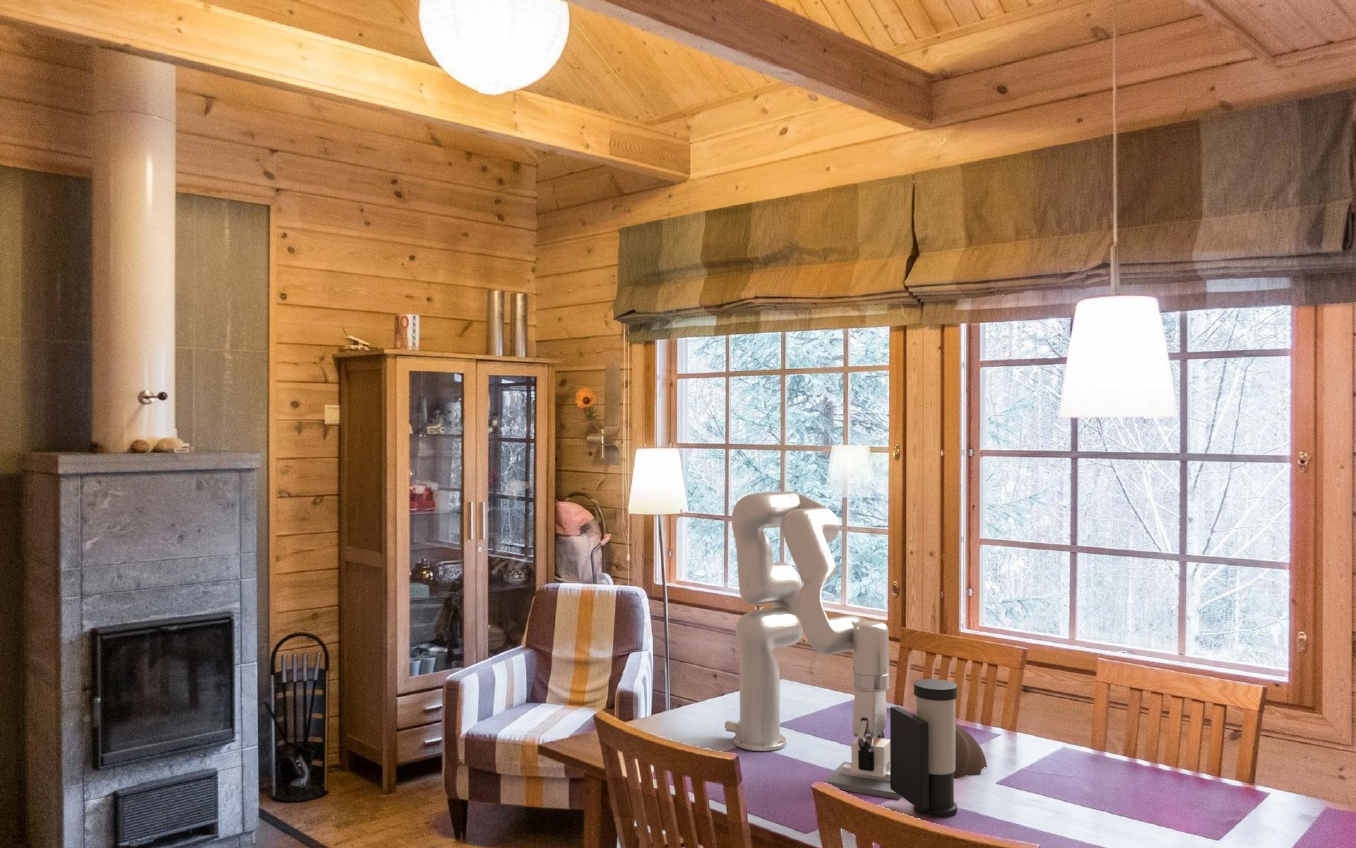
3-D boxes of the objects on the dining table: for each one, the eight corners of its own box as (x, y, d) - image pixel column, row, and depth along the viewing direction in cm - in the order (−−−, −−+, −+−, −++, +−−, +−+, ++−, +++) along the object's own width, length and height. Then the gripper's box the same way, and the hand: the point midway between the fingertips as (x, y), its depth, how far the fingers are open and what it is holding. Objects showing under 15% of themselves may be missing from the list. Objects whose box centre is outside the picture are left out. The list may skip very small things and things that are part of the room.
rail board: (823, 786, 212) (824, 773, 212) (844, 767, 224) (844, 754, 224) (899, 799, 205) (899, 786, 205) (916, 778, 217) (916, 765, 217)
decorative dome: (988, 783, 215) (988, 736, 215) (893, 774, 221) (893, 728, 221) (986, 755, 234) (986, 711, 234) (898, 747, 239) (898, 705, 239)
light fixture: (971, 818, 195) (971, 690, 195) (920, 824, 192) (920, 694, 192) (938, 797, 206) (938, 675, 206) (889, 802, 203) (889, 679, 203)
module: (850, 772, 213) (850, 742, 213) (860, 762, 219) (860, 733, 219) (883, 777, 210) (883, 747, 210) (892, 767, 216) (892, 738, 216)
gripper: (865, 670, 224) (865, 751, 224) (841, 688, 209) (842, 774, 208) (898, 674, 221) (899, 755, 220) (877, 691, 205) (877, 779, 205)
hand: (871, 764), depth 214 cm, fingers closed on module, 7 cm apart
